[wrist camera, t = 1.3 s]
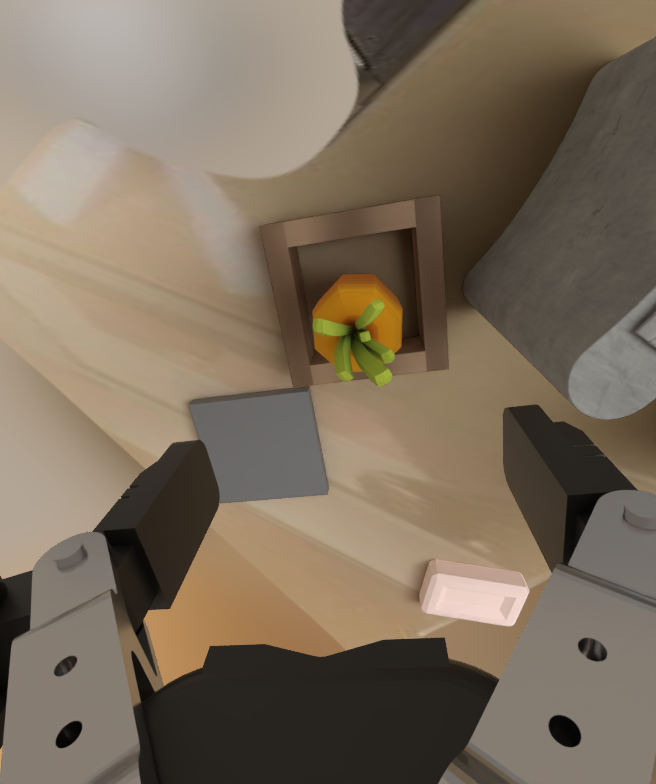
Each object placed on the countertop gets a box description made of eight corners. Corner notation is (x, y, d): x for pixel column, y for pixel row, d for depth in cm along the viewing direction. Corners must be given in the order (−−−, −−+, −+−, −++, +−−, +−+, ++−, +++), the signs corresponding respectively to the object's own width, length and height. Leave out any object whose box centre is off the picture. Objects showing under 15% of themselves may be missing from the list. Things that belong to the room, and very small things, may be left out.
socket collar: (431, 195, 28) (440, 195, 25) (440, 352, 33) (448, 369, 30) (270, 223, 30) (259, 226, 27) (299, 369, 34) (293, 387, 31)
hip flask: (611, 47, 25) (1305, -376, 6) (668, 85, 25) (1459, -211, 7) (453, 294, 31) (580, 430, 13) (501, 320, 31) (687, 486, 13)
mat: (309, 386, 35) (307, 391, 34) (328, 487, 39) (328, 494, 38) (192, 399, 36) (188, 405, 35) (223, 496, 40) (219, 503, 39)
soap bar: (429, 555, 42) (433, 575, 39) (523, 570, 41) (532, 591, 39) (417, 594, 44) (420, 615, 42) (506, 608, 44) (514, 630, 41)
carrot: (314, 273, 31) (275, 331, 17) (378, 243, 30) (389, 280, 16) (342, 334, 33) (326, 430, 19) (404, 308, 32) (433, 391, 18)
